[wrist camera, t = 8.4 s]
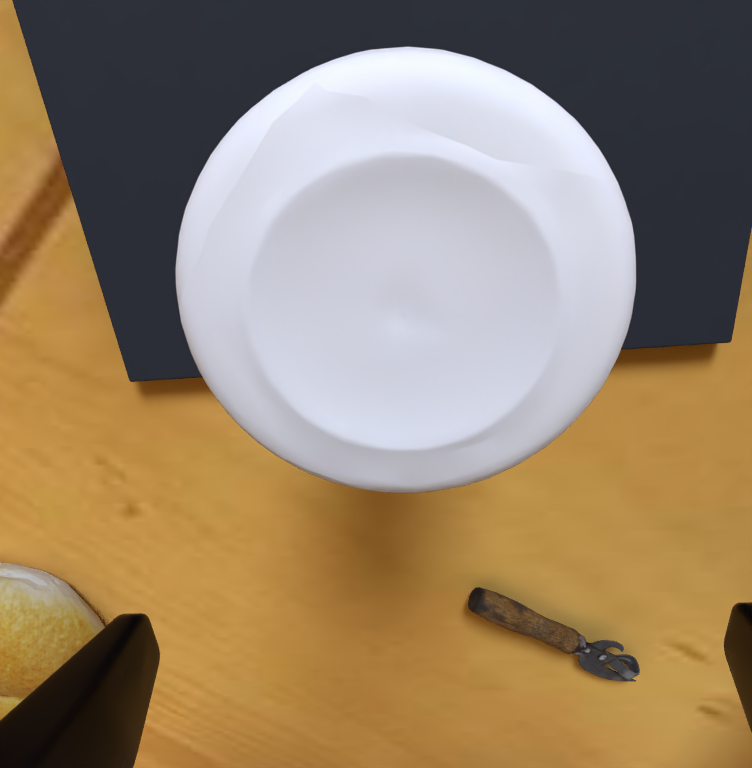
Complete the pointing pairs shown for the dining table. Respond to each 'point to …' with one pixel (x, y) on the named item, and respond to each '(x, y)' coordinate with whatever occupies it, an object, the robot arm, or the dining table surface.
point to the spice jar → (406, 270)
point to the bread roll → (37, 629)
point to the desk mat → (391, 30)
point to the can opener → (553, 635)
